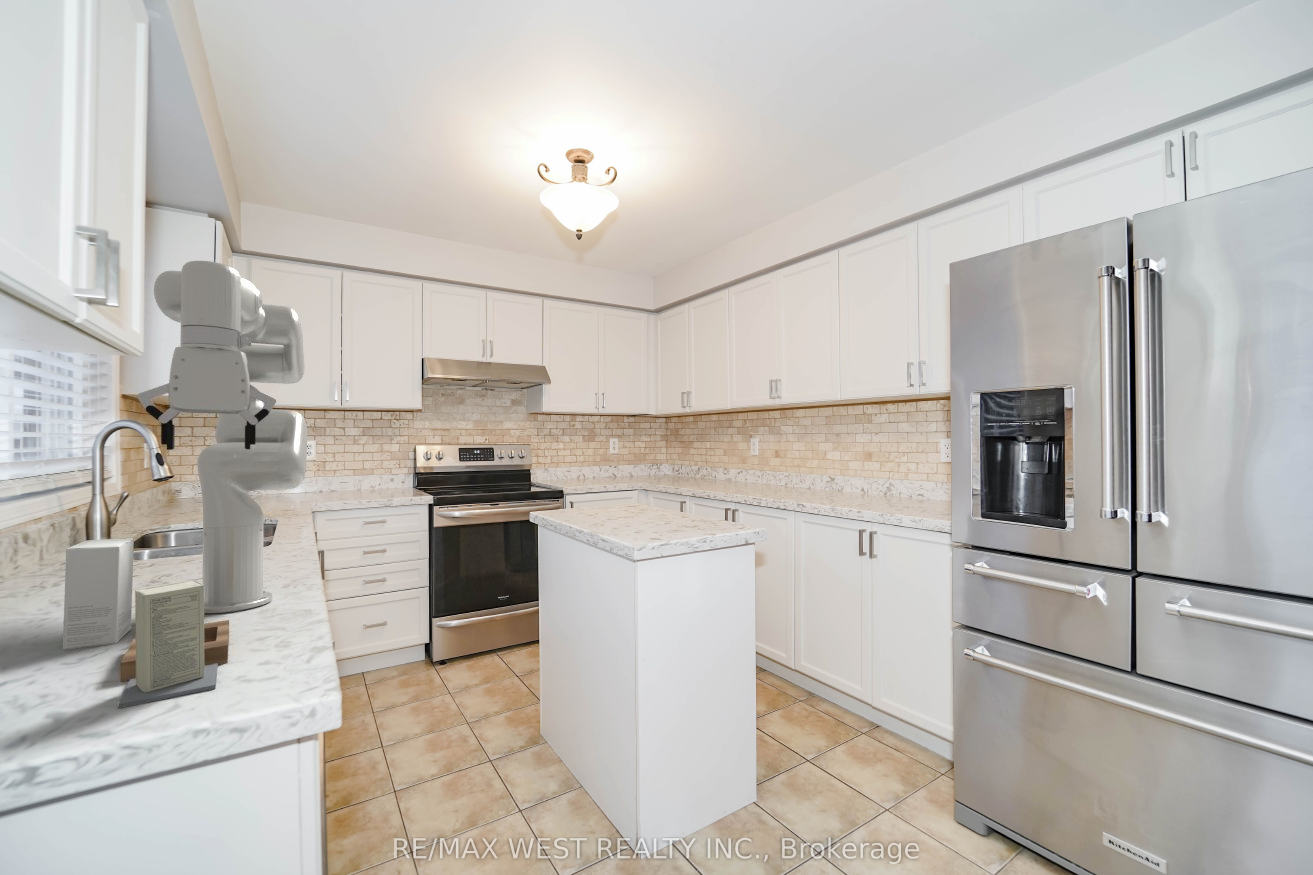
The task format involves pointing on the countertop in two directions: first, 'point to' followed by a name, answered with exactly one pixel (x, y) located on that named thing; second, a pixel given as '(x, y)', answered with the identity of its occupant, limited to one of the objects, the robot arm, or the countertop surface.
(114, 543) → the skincare box
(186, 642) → the skincare box
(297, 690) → the countertop surface
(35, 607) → the countertop surface
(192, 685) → the slate mat
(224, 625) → the hollow wooden block
